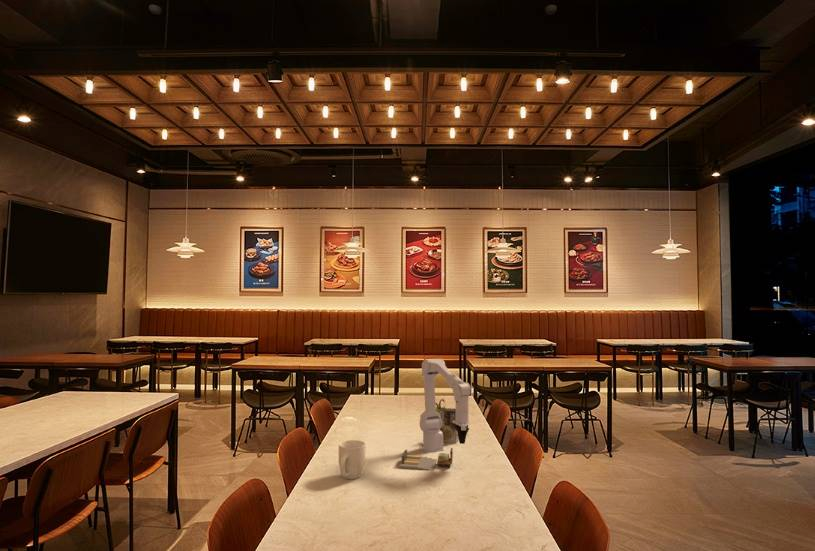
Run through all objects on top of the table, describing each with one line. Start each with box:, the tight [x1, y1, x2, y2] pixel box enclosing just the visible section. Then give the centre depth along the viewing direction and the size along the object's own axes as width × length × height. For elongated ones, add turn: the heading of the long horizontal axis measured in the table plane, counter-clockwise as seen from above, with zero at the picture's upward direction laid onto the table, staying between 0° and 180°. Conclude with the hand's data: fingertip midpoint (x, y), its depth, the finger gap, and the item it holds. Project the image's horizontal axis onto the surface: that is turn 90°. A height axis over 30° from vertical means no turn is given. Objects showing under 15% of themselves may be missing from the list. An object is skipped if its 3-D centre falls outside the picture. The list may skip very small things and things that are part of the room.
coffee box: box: [439, 407, 459, 444], centre depth 232 cm, size 9×6×16 cm
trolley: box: [436, 448, 454, 468], centre depth 196 cm, size 6×6×7 cm
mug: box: [338, 439, 367, 480], centre depth 181 cm, size 15×11×13 cm
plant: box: [433, 398, 446, 417], centre depth 282 cm, size 20×20×11 cm
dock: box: [398, 449, 438, 472], centre depth 197 cm, size 15×14×4 cm
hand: (461, 442), depth 195 cm, fingers closed
